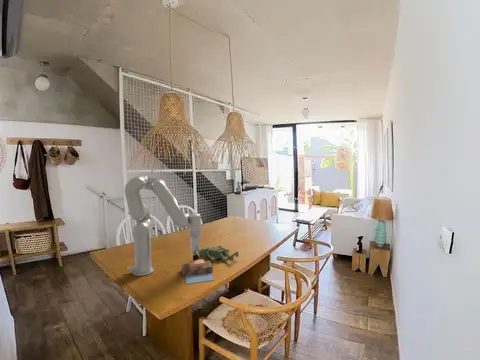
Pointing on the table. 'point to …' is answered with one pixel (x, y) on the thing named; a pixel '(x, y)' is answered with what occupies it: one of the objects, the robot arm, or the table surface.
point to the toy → (216, 253)
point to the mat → (199, 278)
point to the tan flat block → (196, 263)
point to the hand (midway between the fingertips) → (195, 260)
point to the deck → (197, 269)
